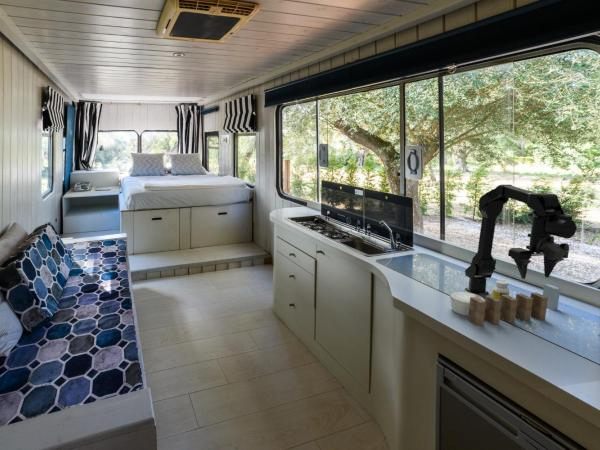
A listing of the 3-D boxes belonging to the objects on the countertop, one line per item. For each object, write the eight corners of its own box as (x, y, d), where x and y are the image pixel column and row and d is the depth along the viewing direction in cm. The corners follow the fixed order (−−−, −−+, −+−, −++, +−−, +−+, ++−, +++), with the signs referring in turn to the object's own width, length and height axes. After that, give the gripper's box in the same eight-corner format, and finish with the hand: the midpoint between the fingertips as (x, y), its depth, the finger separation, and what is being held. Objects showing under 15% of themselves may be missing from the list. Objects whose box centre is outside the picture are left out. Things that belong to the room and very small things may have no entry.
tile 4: (483, 318, 140) (485, 296, 139) (489, 317, 141) (491, 295, 139) (493, 324, 136) (496, 301, 134) (499, 323, 136) (501, 300, 135)
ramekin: (488, 318, 141) (490, 303, 140) (455, 317, 141) (456, 302, 140) (475, 305, 152) (476, 292, 151) (445, 305, 152) (446, 291, 151)
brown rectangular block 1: (513, 315, 143) (516, 293, 142) (519, 315, 144) (521, 293, 142) (524, 321, 138) (527, 299, 137) (530, 321, 139) (532, 298, 137)
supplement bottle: (498, 311, 147) (501, 284, 145) (487, 305, 152) (490, 280, 150) (510, 309, 148) (513, 283, 147) (499, 304, 154) (502, 279, 152)
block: (541, 304, 154) (544, 284, 152) (546, 304, 154) (549, 284, 153) (552, 310, 149) (555, 288, 148) (557, 309, 150) (560, 288, 148)
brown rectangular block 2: (528, 314, 145) (531, 292, 143) (533, 314, 145) (536, 292, 144) (539, 320, 140) (542, 297, 138) (544, 319, 140) (548, 297, 139)
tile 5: (467, 319, 139) (470, 297, 138) (473, 319, 140) (476, 296, 138) (477, 325, 134) (479, 302, 133) (483, 325, 135) (485, 302, 133)
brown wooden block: (498, 317, 142) (501, 294, 140) (504, 316, 142) (506, 294, 141) (509, 323, 137) (511, 300, 136) (514, 322, 138) (517, 299, 136)
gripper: (535, 238, 125) (529, 287, 128) (586, 236, 129) (579, 284, 132) (509, 231, 136) (504, 276, 138) (556, 229, 140) (550, 273, 143)
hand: (535, 278), depth 138 cm, fingers open, 9 cm apart
